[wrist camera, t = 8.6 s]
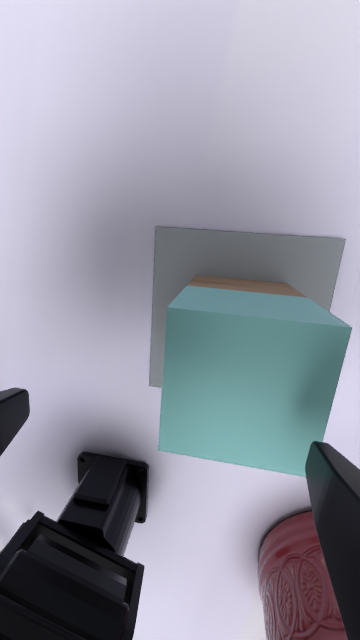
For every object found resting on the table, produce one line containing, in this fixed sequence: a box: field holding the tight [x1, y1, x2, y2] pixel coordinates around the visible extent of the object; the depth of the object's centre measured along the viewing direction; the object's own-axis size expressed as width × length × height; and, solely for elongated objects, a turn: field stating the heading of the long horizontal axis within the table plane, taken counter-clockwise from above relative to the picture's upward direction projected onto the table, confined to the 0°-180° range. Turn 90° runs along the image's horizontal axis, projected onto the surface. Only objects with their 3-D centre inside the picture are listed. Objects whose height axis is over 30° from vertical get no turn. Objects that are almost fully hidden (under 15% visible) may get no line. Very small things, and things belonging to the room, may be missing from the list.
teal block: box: [158, 286, 352, 477], centre depth 12 cm, size 6×6×5 cm
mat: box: [149, 227, 346, 388], centre depth 20 cm, size 12×12×1 cm
